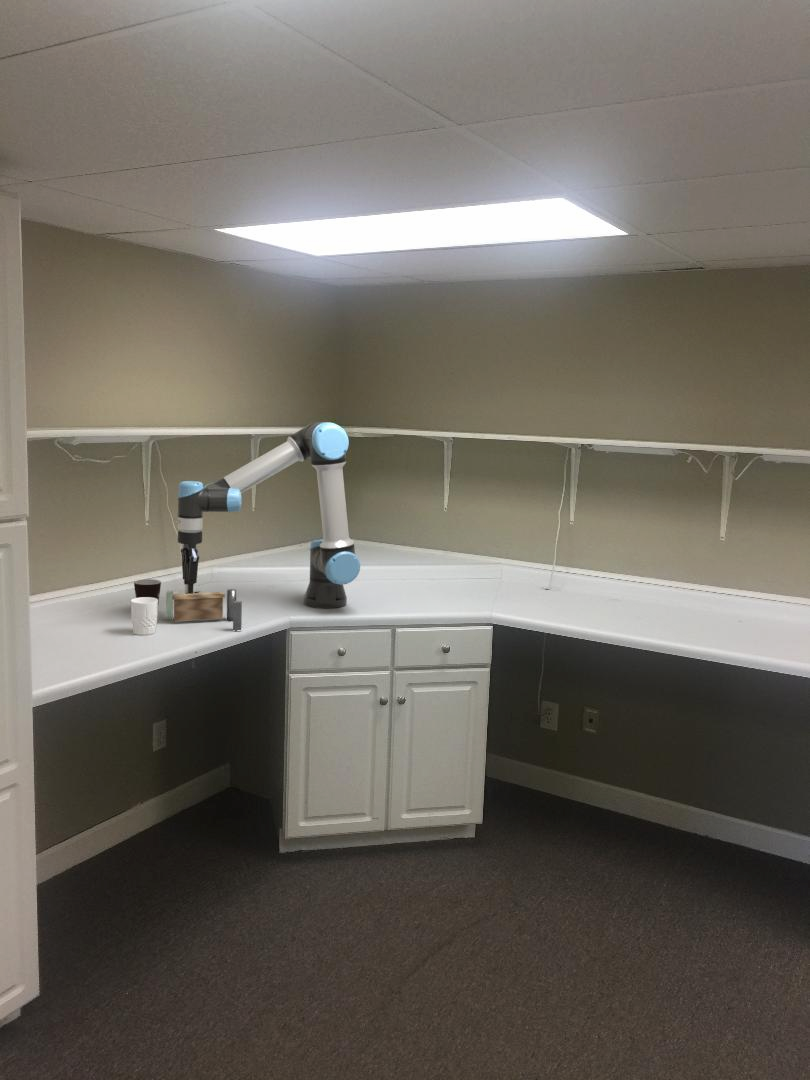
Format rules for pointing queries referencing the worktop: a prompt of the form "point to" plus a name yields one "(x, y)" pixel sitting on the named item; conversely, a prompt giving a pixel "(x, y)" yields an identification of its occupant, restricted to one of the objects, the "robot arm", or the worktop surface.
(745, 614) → the worktop surface
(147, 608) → the white cup
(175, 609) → the wooden flat block
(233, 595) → the gate frame
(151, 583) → the coffee mug
